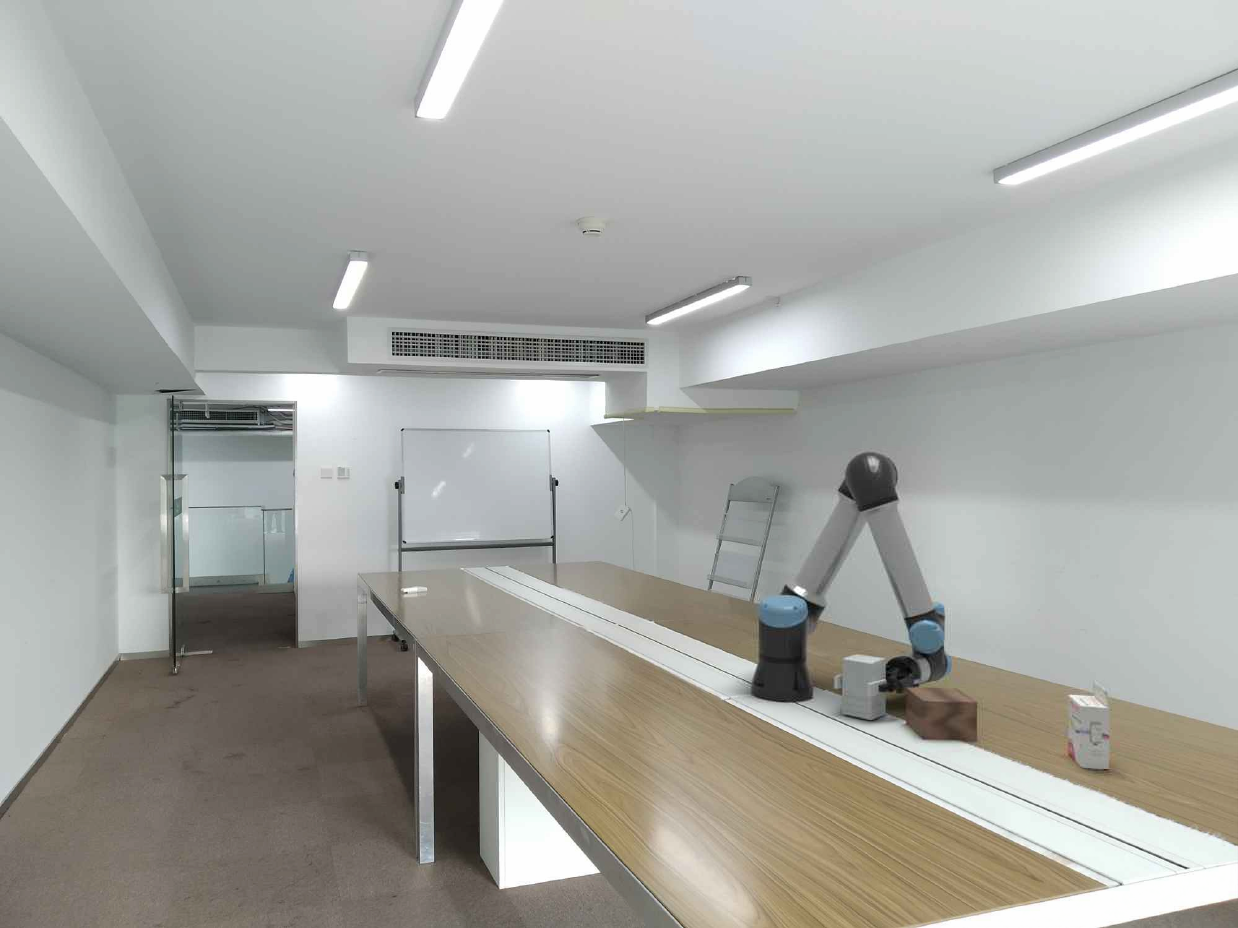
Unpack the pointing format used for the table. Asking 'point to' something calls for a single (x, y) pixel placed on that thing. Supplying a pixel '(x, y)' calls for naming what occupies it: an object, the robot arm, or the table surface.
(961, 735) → the walnut block
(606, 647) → the table surface
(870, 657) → the supplement box
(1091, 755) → the ink cartridge box
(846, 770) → the table surface
